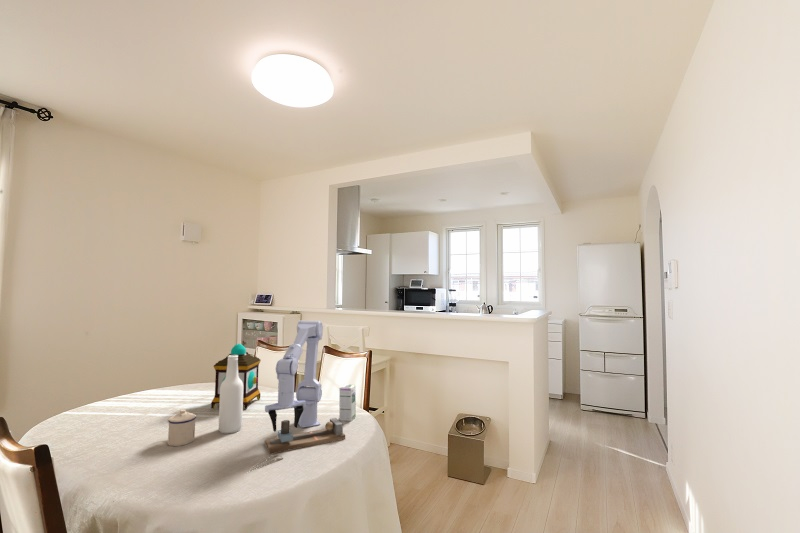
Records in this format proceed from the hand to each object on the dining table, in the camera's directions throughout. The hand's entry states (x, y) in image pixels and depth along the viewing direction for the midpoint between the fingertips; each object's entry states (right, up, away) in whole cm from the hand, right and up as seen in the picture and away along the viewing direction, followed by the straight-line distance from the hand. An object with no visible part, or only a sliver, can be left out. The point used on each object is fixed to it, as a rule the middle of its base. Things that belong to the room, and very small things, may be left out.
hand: (285, 428), depth 140 cm
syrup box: (+19, -8, +28) cm, 35 cm away
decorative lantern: (-39, -9, +49) cm, 63 cm away
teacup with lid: (-41, -6, +3) cm, 42 cm away
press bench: (+7, -6, +3) cm, 10 cm away
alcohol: (-27, -7, +14) cm, 31 cm away
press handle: (0, -3, 0) cm, 3 cm away
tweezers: (-4, -6, -17) cm, 19 cm away
